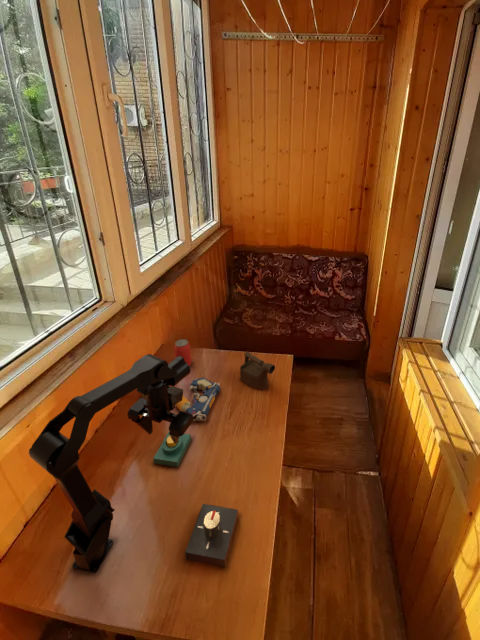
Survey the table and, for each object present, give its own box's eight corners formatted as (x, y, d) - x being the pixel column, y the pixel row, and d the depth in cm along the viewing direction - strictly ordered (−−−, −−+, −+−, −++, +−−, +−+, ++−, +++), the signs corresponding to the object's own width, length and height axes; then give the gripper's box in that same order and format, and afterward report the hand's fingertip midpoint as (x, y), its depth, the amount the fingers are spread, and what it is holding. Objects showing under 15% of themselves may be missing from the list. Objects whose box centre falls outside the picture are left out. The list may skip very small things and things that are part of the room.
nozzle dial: (217, 540, 78) (216, 529, 76) (202, 537, 78) (201, 526, 77) (222, 522, 81) (222, 511, 80) (208, 519, 82) (207, 508, 80)
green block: (177, 467, 98) (176, 458, 97) (154, 463, 99) (152, 454, 98) (191, 439, 107) (190, 430, 106) (169, 436, 108) (168, 427, 107)
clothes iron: (264, 398, 125) (264, 371, 121) (239, 378, 135) (238, 353, 131) (278, 387, 131) (278, 361, 126) (252, 369, 141) (252, 344, 136)
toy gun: (165, 420, 114) (204, 426, 112) (164, 411, 113) (203, 417, 111) (190, 381, 134) (223, 386, 132) (190, 373, 132) (223, 378, 130)
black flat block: (225, 567, 75) (224, 559, 74) (186, 559, 76) (184, 551, 75) (238, 516, 85) (237, 509, 84) (203, 510, 87) (202, 503, 85)
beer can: (175, 361, 145) (173, 340, 141) (190, 358, 148) (188, 336, 143) (177, 370, 139) (174, 348, 135) (192, 366, 142) (190, 344, 138)
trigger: (174, 448, 100) (173, 444, 100) (165, 446, 101) (164, 442, 100) (179, 439, 103) (178, 435, 103) (170, 437, 104) (169, 434, 103)
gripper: (202, 384, 91) (205, 425, 97) (150, 370, 97) (156, 408, 102) (178, 413, 81) (183, 456, 87) (122, 395, 87) (130, 437, 92)
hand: (163, 437), depth 92 cm, fingers open, 9 cm apart
